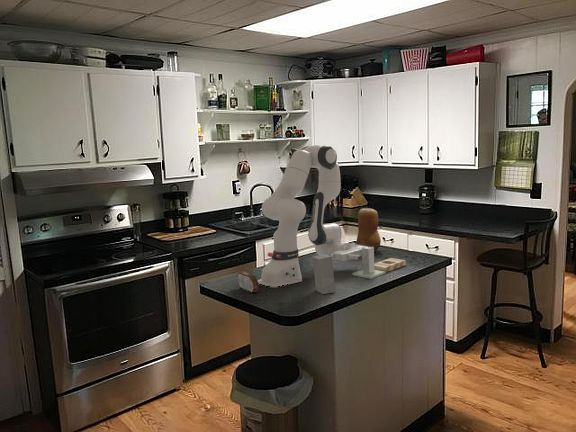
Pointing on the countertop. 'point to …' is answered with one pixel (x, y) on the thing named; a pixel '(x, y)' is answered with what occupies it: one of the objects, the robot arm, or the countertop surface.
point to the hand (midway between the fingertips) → (363, 255)
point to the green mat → (370, 276)
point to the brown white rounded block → (248, 281)
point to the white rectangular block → (368, 260)
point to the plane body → (389, 264)
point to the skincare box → (323, 273)
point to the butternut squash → (368, 228)
